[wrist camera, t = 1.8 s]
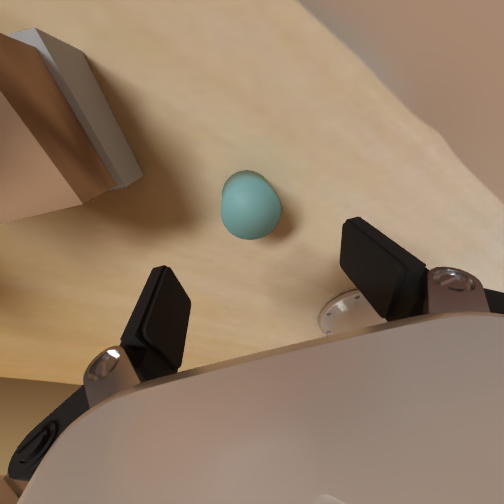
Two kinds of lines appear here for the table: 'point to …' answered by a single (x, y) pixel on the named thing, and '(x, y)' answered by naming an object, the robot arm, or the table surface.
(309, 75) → the table surface
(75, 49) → the tower base
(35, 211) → the tower top
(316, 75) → the table surface
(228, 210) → the blue egg-shaped pebble
